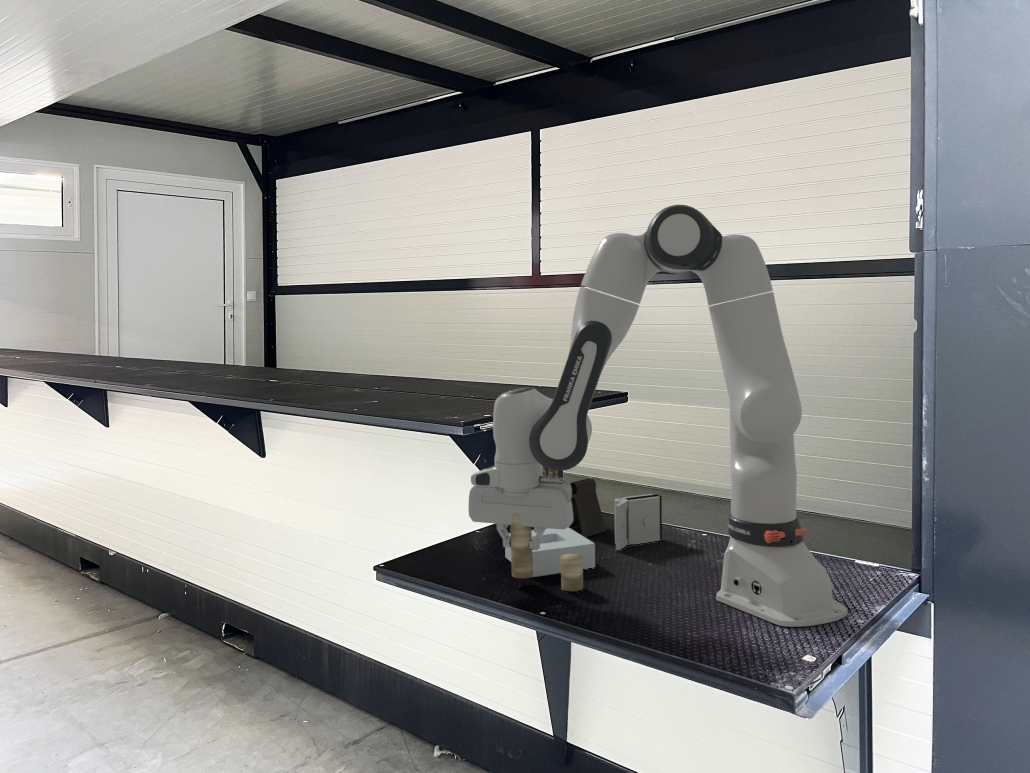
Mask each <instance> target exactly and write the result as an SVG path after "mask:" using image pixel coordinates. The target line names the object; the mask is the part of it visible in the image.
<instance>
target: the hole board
mask: <svg viewBox="0 0 1030 773" xmlns="http://www.w3.org/2000/svg"><path fill="white" fill-rule="evenodd" d="M508 533H509V535H510V532H508ZM536 534H537V533H535V532H534V529H532V539H533V538H535V536H536ZM504 548H505V549H504V552H505V554H504V555H505V556H504V558H506V559H507V560H508V561H509V562H511V548H509V547H504ZM566 554H578V555H581V556H582V557H583V569H585V570H589V569H588V568H592V569H595V568H596V544H595V543H594V542H593V541H592V540H590V539H588V538H587V537H583V536H582V535H580V534H578V533H577V532H575V531H574V530H572V529H570V528H569V527H567V528H566V529H551V528H545V532H544V533H543V535H542V537H541V539H540V549H538V550H532V555H533V576H531V577H529V578H534V577H535V578H536V577H542V576H550V575H556V574H561V556H563V555H566ZM594 567H595V568H594ZM529 578H528V579H529Z"/></svg>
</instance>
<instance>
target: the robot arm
mask: <svg viewBox="0 0 1030 773" xmlns="http://www.w3.org/2000/svg"><path fill="white" fill-rule="evenodd" d="M687 272H688V273H689V272H692V273H694V274H696V275H697V276H698V278H699V279H700V280H701V283H702V285H703V287H704V288H703V289H704V291H705V295H706V300H707V306H708V310H709V315H710V319H711V324H712V329H713V333H714V338H715V341H716V342H715V343H716V347H717V352H718V355H719V356H718V357H719V359H720V362H721V369H722V372H723V373H722V374H723V376H724V380H725V385H726V388H727V389H726V390H727V394H728V397H729V443H730V446H729V447H730V448H729V449H730V513H728V520H727V528H728V529H727V533H728V535H729V536H730V537H729V542H728V544H727V548H726V550H725V552H724V553H723V554H724V555H723V562H722V564H723V565H722V572H721V573H722V574H721V586H720V590H719V591H717V592H716V596H715V600H716V601H718V602H719V603H723V604H725V605H728V606H730V607H732V608H734V609H738V610H740V611H742V612H745V613H747V614H750V615H752V616H755V617H757V618H760V619H762V620H765V621H767V622H769V623H772V624H775V625H777V626H781V627H791V628H792V627H798V628H799V627H809V626H811V627H812V626H818V625H823V624H829V623H833V622H837V621H840V620H841V619H844V618H845V617H847V616H848V615H849V611H848V610H849V609H848V608H847V606H845V605H843V604H842V603H840V602H839V601H837V600H836V599H835V598H833V588H832V587H833V586H832V581H831V577H830V575H829V574H828V572H827V568H826V567H825V566H824V565H822V564H820V563H819V561H818V560H817V559H816V558H815V556H814V555H813V553H812V552H811V551H810V549H809V548H808V547H807V546H806V544H805V542H804V539H805V538H804V535H808V533H807V532H804V531H807V530H808V528H807V527H801V523H800V520H799V517H798V516H797V482H798V481H797V478H798V476H797V474H798V472H797V466H796V464H797V463H796V453H795V452H796V450H795V437H794V435H795V433H796V431H797V429H798V427H799V426H800V424H801V420H802V416H803V409H802V408H803V407H802V403H801V399H800V396H799V390H798V386H797V383H796V379H795V376H794V372H793V368H792V364H791V361H790V357H789V353H788V350H787V347H786V343H785V340H784V336H783V331H782V326H781V321H780V317H779V313H778V308H777V303H776V299H775V295H774V294H775V293H774V292H773V284H772V281H771V277H770V275H769V271H768V268H767V265H766V261H765V260H764V257H763V255H762V252H761V250H760V247H759V246H758V243H757V242H756V241H755V240H754V239H753V238H752V237H750V236H747V235H743V234H728V235H724V236H723V235H722V233H721V232H720V231H719V229H717V227H715V226H714V225H713V223H712V222H711V221H710V220H709V219H708V218H707V216H705V214H704V213H702V212H701V211H699V209H697V208H695V207H692V206H691V205H686V204H673V205H670V206H666V207H665V208H663V209H661V210H660V211H658V212H657V213H656V214H655V215H654V216H653V218H652V219H651V220H650V222H649V224H648V225H647V230H646V231H645V232H644V233H642V234H639V235H633V234H630V233H626V232H625V233H624V232H615V233H611V234H608V235H606V236H605V237H603V238H602V239H601V241H600V242H599V244H598V246H597V247H596V249H595V250H594V253H593V255H592V257H591V259H590V261H589V264H587V268H586V270H585V273H584V275H583V278H582V281H581V284H580V286H579V289H578V293H577V296H576V297H577V298H576V301H575V306H574V311H573V318H572V325H571V334H570V336H571V337H570V344H569V348H568V349H569V350H568V355H567V359H566V362H565V365H564V368H563V371H562V373H561V376H560V380H559V382H558V385H557V388H556V391H555V392H554V393H555V394H554V396H553V398H550V397H549V396H546V395H544V394H542V393H541V392H539V391H538V390H537V389H536V388H534V387H530V386H529V387H527V386H526V387H518V388H515V389H510V390H508V391H505V392H503V393H501V394H500V395H498V397H497V398H496V400H495V401H494V406H493V413H492V414H493V416H492V418H493V419H492V420H493V421H492V424H493V425H492V427H493V428H492V432H493V433H492V434H493V440H494V443H495V455H494V460H493V461H494V465H492V466H488V467H487V468H484V469H481V470H479V471H477V472H475V473H472V475H471V476H470V483H471V485H472V487H471V488H470V490H469V494H468V516H469V518H470V520H471V521H472V522H473V523H482V524H483V523H484V524H485V523H486V524H494V525H496V530H497V532H498V534H499V535H500V537H501V539H502V547H503V548H505V547H509V548H511V538H510V535H509V533H510V532H509V531H508V529H507V528H508V527H509V526H510V525H512V514H516V515H521V524H522V526H528V527H531V528H533V530H534V532H535V533H537V534H536V536H535V538H533V539H531V540H530V541H529V545H530V546H529V549H530V550H538V549H540V539H541V537H542V535H543V533H544V532H545V529H547V528H551V529H566V528H567V527H569V526H570V525H571V524H572V522H573V509H572V503H571V498H572V487H571V485H570V482H569V481H568V480H565V479H564V477H558V478H552V477H543V476H542V466H544V467H546V468H548V469H551V470H555V471H558V472H564V471H568V470H571V469H574V468H575V467H576V466H578V465H579V464H580V463H581V462H582V460H584V458H585V456H586V454H587V450H588V446H589V445H588V444H589V442H590V440H591V437H592V432H593V427H592V421H591V419H590V418H589V416H588V414H589V410H590V406H591V404H592V401H593V398H594V395H595V392H596V389H597V387H598V384H599V381H600V377H601V375H602V372H603V370H604V368H605V366H606V365H607V362H608V361H609V359H610V357H611V356H612V355H613V354H614V352H615V351H616V350H617V348H618V347H619V346H620V345H621V343H622V342H623V341H624V338H625V337H626V336H627V334H628V332H629V331H630V328H631V327H632V324H633V322H634V320H635V318H636V316H637V313H638V311H639V307H640V305H639V304H641V301H642V298H643V295H644V293H645V289H646V288H647V286H648V283H649V281H650V280H651V278H652V277H653V276H654V275H679V274H684V273H687Z"/></svg>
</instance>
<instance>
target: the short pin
mask: <svg viewBox="0 0 1030 773" xmlns="http://www.w3.org/2000/svg"><path fill="white" fill-rule="evenodd" d="M560 576H561V578H560V582H561V585H560V587H561V588H560V589H561V591H562V590H565V591H573V592H574V591H579V590H582V589H583V590H584V570H583V557H582V556H581V555H578V554H566V555H563V556H561V573H560ZM583 590H582V591H583Z"/></svg>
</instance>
